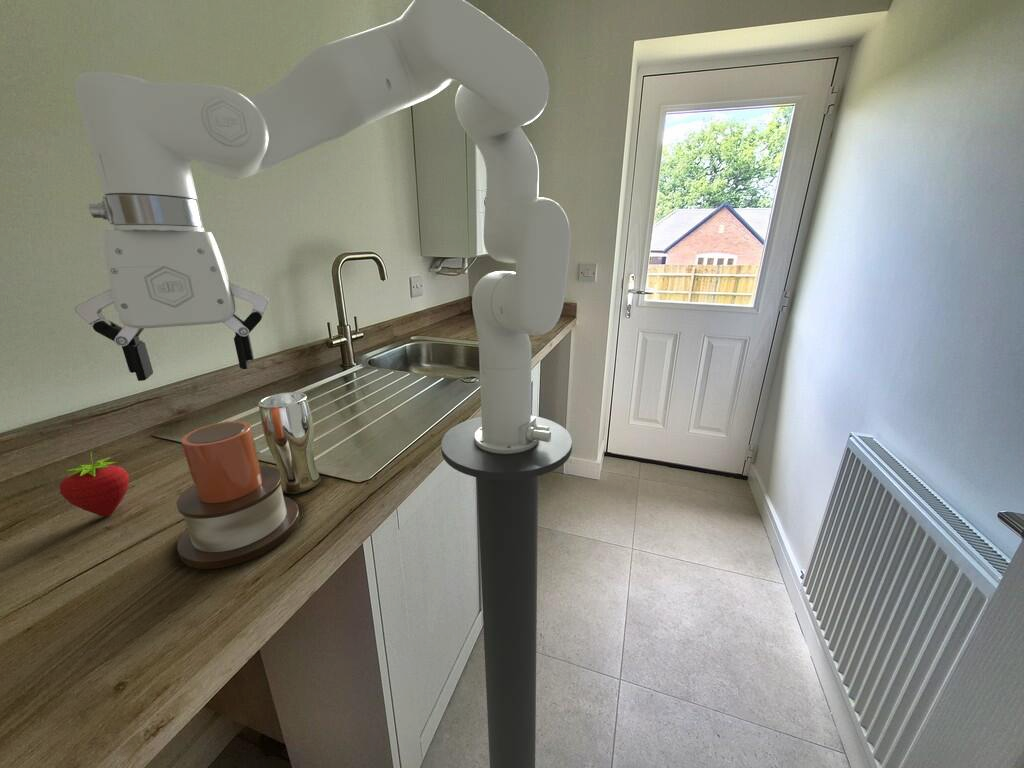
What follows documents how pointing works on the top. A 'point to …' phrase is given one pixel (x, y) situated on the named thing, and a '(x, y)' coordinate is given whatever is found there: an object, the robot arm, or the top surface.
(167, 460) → the top surface
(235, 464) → the terracotta cup
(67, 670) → the top surface
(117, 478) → the strawberry
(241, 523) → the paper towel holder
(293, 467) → the beer glass
